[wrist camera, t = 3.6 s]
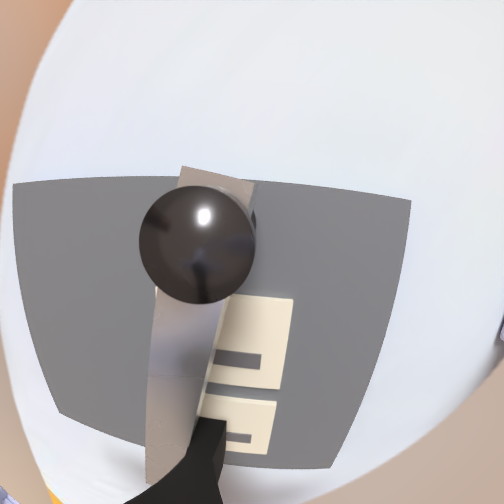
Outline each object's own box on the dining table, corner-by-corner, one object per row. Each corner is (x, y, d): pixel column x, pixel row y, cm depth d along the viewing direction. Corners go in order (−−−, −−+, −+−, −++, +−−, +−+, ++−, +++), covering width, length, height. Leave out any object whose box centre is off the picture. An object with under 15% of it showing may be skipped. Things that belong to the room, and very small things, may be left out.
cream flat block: (276, 401, 11) (276, 406, 11) (266, 450, 12) (266, 455, 11) (166, 385, 11) (163, 390, 11) (174, 436, 12) (172, 441, 12)
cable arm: (273, 188, 8) (273, 187, 5) (196, 464, 11) (184, 505, 8) (193, 168, 8) (154, 160, 5) (151, 449, 11) (134, 488, 8)
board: (400, 199, 10) (411, 200, 9) (328, 456, 13) (330, 468, 12) (25, 183, 11) (12, 184, 10) (66, 405, 14) (59, 412, 13)
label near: (292, 299, 10) (293, 303, 9) (279, 384, 11) (279, 390, 10) (158, 284, 10) (154, 288, 10) (164, 369, 11) (161, 374, 11)
